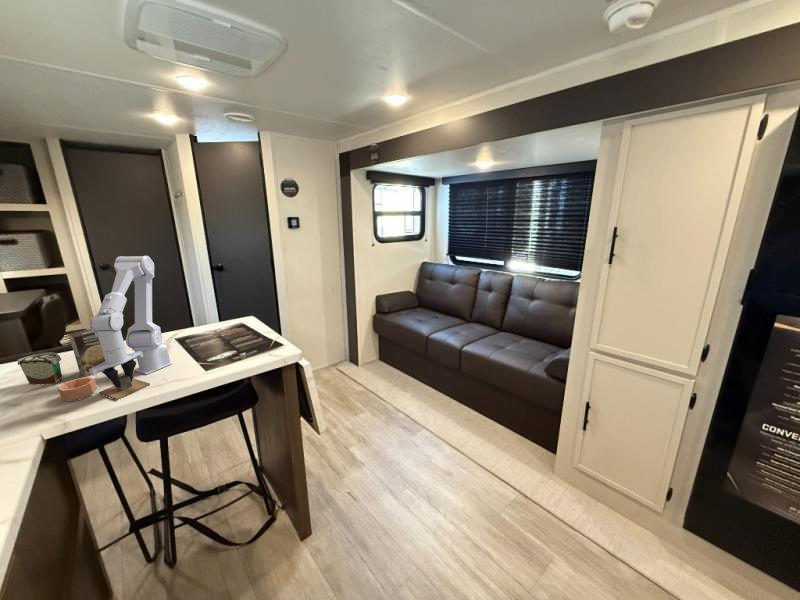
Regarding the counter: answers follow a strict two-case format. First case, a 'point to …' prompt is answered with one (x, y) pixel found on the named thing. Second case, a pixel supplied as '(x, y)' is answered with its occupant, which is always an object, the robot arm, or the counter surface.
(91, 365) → the coffee box
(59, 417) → the counter surface
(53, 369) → the food container
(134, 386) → the board
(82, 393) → the bowl
